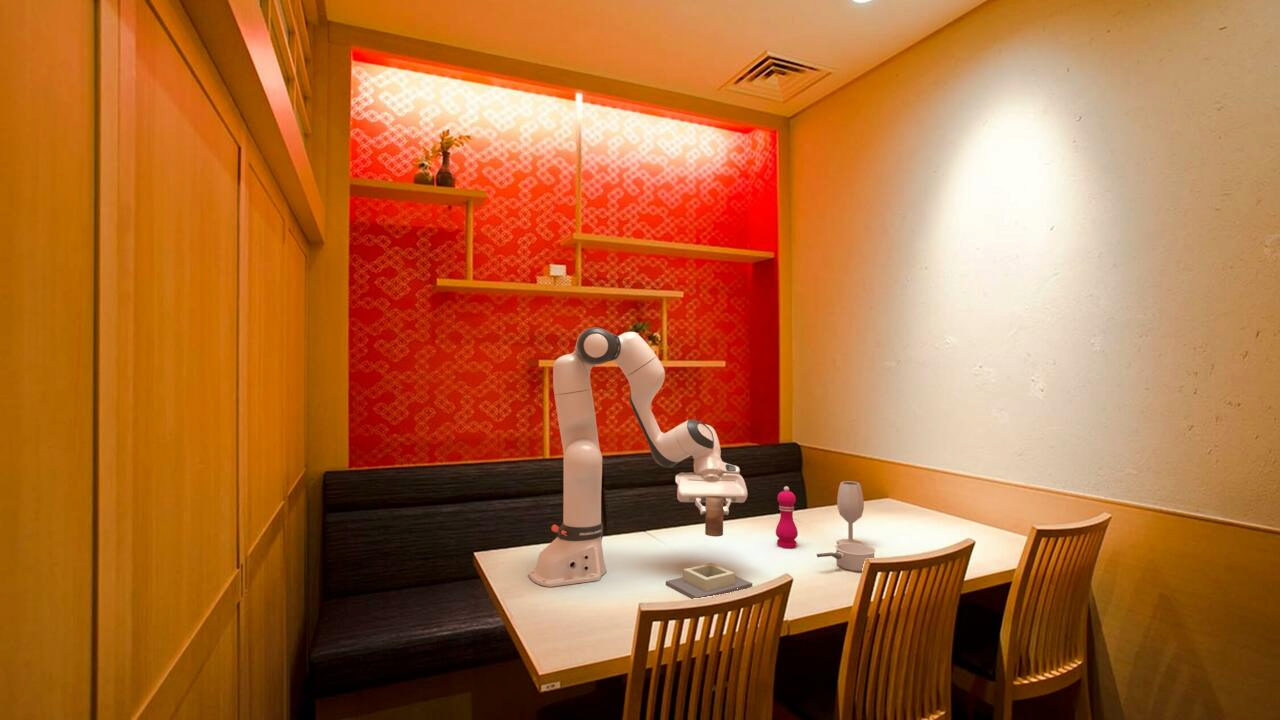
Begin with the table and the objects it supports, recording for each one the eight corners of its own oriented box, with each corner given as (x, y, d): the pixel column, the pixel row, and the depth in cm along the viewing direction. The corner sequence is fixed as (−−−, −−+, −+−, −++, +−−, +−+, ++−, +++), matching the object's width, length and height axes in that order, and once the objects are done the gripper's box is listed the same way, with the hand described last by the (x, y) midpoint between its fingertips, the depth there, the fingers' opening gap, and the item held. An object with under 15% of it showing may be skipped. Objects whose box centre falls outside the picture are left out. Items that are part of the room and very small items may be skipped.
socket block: (697, 601, 151) (697, 585, 151) (665, 584, 163) (665, 570, 163) (752, 586, 161) (752, 572, 161) (718, 572, 173) (718, 558, 173)
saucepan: (804, 567, 178) (804, 549, 178) (855, 559, 186) (855, 541, 186) (831, 580, 167) (831, 560, 167) (884, 570, 175) (884, 551, 175)
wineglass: (831, 542, 203) (831, 481, 204) (853, 540, 206) (852, 480, 206) (847, 550, 195) (847, 486, 195) (870, 547, 198) (869, 484, 198)
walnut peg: (713, 537, 164) (713, 501, 164) (701, 533, 168) (702, 497, 168) (726, 534, 166) (727, 499, 167) (714, 530, 171) (715, 496, 171)
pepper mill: (798, 549, 195) (798, 488, 196) (775, 548, 197) (775, 488, 197) (797, 543, 202) (796, 484, 203) (775, 542, 204) (775, 484, 204)
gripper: (675, 466, 174) (679, 507, 164) (744, 467, 175) (752, 507, 165) (673, 478, 178) (676, 519, 168) (740, 479, 179) (747, 519, 169)
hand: (714, 513), depth 167 cm, fingers closed on walnut peg, 5 cm apart
